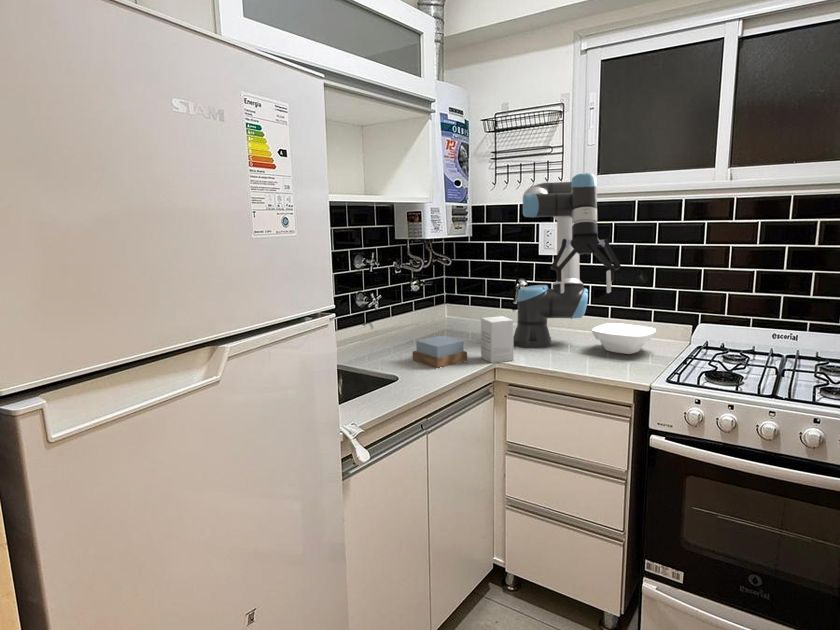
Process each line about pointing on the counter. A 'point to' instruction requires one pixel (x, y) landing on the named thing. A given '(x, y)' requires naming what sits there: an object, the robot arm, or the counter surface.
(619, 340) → the bowl
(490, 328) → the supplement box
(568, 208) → the robot arm
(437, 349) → the tower top
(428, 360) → the tower base
